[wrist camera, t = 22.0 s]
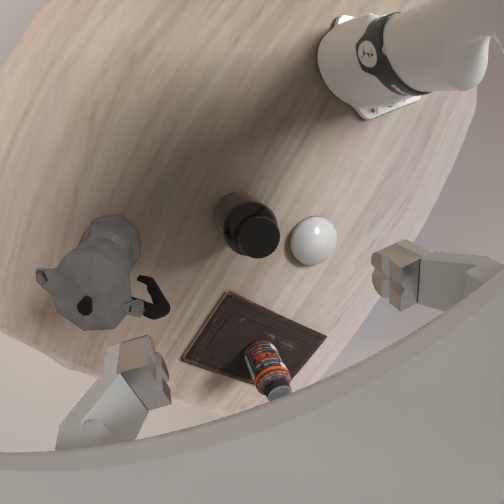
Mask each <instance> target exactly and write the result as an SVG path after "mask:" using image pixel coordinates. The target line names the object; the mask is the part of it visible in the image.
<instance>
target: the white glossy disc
mask: <svg viewBox="0 0 504 504" xmlns="http://www.w3.org/2000/svg"><path fill="white" fill-rule="evenodd" d="M336 242H337V234H336V230H335V228H334V226H333V225H332V224H331V223H330V222H329V221H328V220H326V219H324V218H322V217H319V216H311V217H308V218H305V219H303V220H302V221H300V222H299V223H298V224H297V225H296V227H295V228H294V230H293V232H292V234H291V237H290V249H291V252H292V254H293V255H294V256H295V258H297V259H298V260H299V261H300V262H301V263H303V264H306V265H317V264H320V263H322V262H323V261H325V260H326V259H327V258H328V257H329V256H330V255H331V254H332V252H333V251H334V248H335V246H336Z"/></svg>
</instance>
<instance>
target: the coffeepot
mask: <svg viewBox="0 0 504 504" xmlns="http://www.w3.org/2000/svg"><path fill="white" fill-rule="evenodd" d="M139 256H140V245H139V236H138V231H137V230H136V229H135V228H133V227H132V226H131V225H130V224H129V223H128V222H127V221H125V220H124V219H123V218H122V217H120V216H106V217H99V218H95V219H94V221H93V222H92V223H91V225H90V226H89V227H88V229H87V230H86V232H85V233H84V234H83V236H82V238H81V242H80V245H79V246H78V247H76V248H75V249H74V250H72V251H71V252H69V253H68V254H66V255H65V257H64V258H63V260H62V261H61V262H60V264H59V266H58V267H57V268H54V269H37V270H36V280H37V282H38V283H39V284H40V285H41V287H43V288H44V289H45V290H47V291H48V292H49V293H51V294H52V295H53V298H54V301H55V305H56V308H57V311H58V312H59V313H60V314H62V315H63V316H64V317H66V318H67V319H68V320H70V321H71V322H72V323H74V324H75V325H77V326H78V327H80V328H81V329H82V330H84V331H86V330H106V329H115V328H116V326H117V325H118V324H119V323H120V322H121V321H122V319H123V318H124V317H125V316H126V315H127V314H129V315H133V316H136V317H141V315H143V316H145V317H147V318H150V319H158V318H161V317H164V316H166V315H167V314H168V313H169V312H170V305H169V303H168V301H167V300H166V298H165V297H164V295H163V294H162V292H161V290H160V288H159V287H158V285H157V284H156V282H155V280H154V279H153V278H151V277H148V276H141V275H139V276H138V278H137V280H138V281H140V282H142V283H144V284H146V285H147V290H148V293H149V294H150V295H151V298H152V301H153V304H152V303H149V302H146V301H144V300H141V299H138V298H134V297H131V289H130V279H129V271H130V269H131V268H132V266H133V265H134V264H135V262H136V261H137V259H138V258H139Z"/></svg>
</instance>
